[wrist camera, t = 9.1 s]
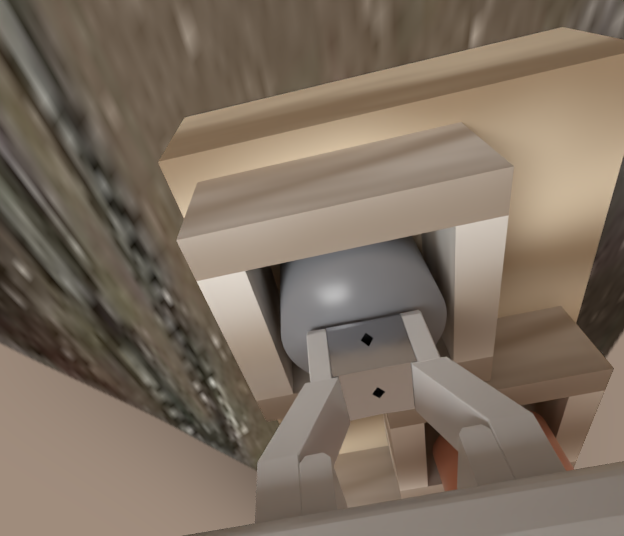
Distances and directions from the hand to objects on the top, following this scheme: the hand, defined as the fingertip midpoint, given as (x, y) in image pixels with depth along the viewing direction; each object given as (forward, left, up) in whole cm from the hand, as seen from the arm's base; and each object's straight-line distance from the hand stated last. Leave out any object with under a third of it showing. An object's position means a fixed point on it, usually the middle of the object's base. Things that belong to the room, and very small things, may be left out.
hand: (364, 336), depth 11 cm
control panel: (+8, +2, -7) cm, 11 cm away
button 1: (0, 0, -3) cm, 3 cm away
